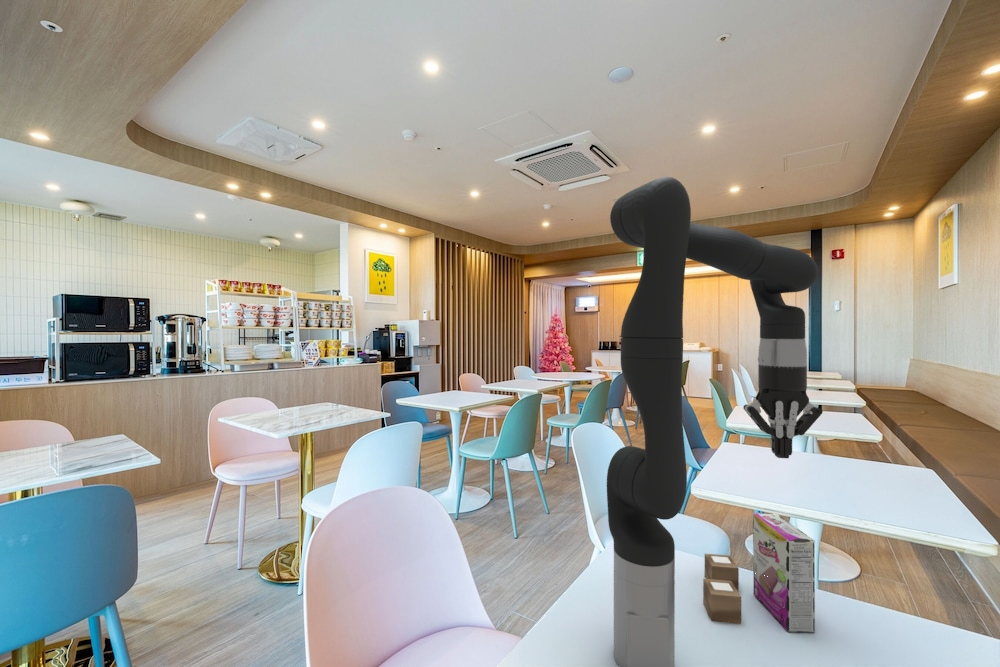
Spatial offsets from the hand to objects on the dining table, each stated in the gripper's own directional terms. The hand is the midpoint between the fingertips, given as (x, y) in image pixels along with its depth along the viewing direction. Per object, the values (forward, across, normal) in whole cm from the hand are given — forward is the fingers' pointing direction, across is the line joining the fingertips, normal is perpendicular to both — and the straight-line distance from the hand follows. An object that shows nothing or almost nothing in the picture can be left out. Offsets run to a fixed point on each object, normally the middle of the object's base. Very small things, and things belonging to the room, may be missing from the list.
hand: (781, 457), depth 81 cm
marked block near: (+29, -11, -2) cm, 31 cm away
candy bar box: (+29, 0, 0) cm, 29 cm away
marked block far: (+29, -8, +8) cm, 31 cm away
